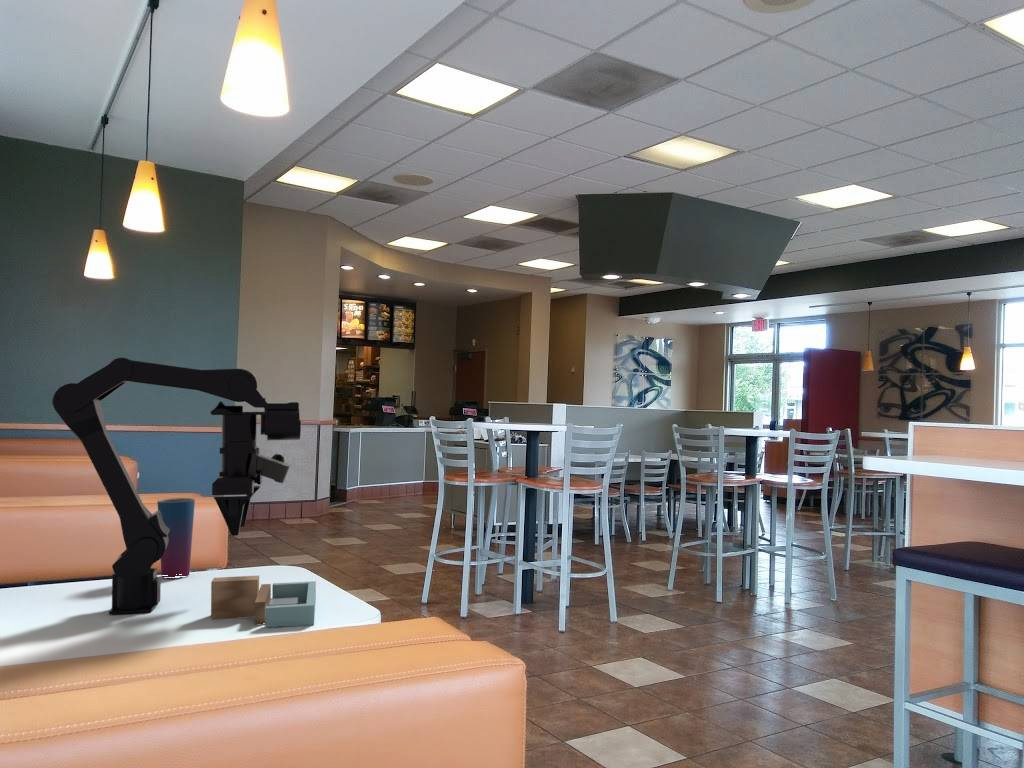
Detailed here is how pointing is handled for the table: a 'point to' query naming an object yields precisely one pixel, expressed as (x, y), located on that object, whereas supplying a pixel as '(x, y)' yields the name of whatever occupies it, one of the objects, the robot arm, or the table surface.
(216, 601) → the scraper
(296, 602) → the tile slate
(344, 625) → the table surface
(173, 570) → the cup
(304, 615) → the teal corner frame
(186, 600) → the table surface
